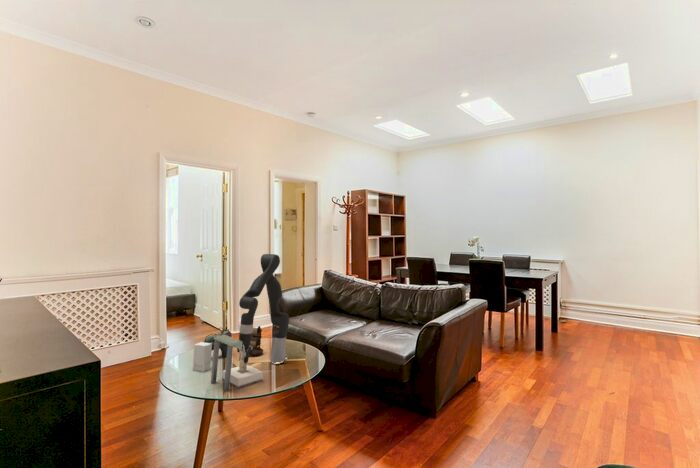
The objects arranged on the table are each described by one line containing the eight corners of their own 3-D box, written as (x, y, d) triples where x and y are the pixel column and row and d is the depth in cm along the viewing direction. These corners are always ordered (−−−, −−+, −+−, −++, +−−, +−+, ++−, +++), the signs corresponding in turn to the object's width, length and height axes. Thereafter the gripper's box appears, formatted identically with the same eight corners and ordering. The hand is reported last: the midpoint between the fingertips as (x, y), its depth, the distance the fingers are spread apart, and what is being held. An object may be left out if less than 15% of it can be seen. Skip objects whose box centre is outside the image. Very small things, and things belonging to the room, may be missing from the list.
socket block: (245, 372, 209) (246, 364, 209) (262, 380, 199) (262, 371, 199) (221, 379, 196) (222, 370, 196) (237, 388, 186) (238, 378, 186)
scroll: (266, 352, 250) (268, 324, 251) (257, 358, 236) (260, 329, 237) (246, 349, 253) (249, 322, 253) (237, 355, 238) (240, 326, 239)
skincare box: (210, 368, 211) (213, 343, 211) (203, 372, 204) (205, 346, 205) (199, 366, 213) (201, 341, 213) (191, 370, 206) (194, 344, 207)
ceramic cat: (226, 354, 240) (229, 325, 240) (231, 356, 235) (234, 327, 236) (198, 359, 224) (201, 329, 225) (203, 362, 220) (206, 331, 221)
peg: (243, 367, 200) (245, 346, 201) (247, 369, 198) (249, 348, 198) (237, 368, 197) (239, 347, 198) (241, 370, 195) (243, 349, 195)
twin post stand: (221, 379, 196) (225, 334, 197) (238, 388, 186) (242, 341, 187) (209, 382, 191) (213, 336, 192) (226, 392, 180) (231, 343, 181)
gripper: (259, 333, 197) (256, 363, 196) (244, 328, 206) (241, 357, 205) (247, 335, 191) (245, 366, 190) (233, 330, 200) (230, 359, 199)
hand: (243, 361), depth 198 cm, fingers closed on peg, 4 cm apart
